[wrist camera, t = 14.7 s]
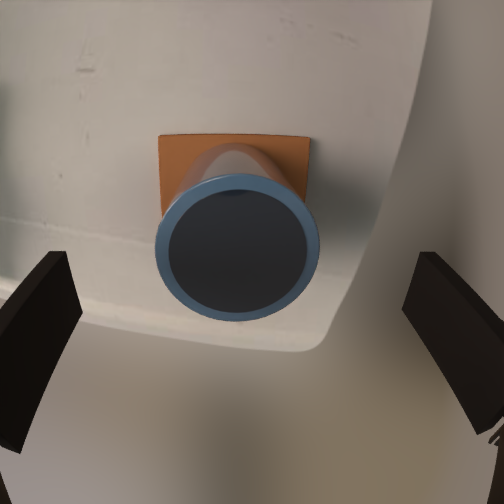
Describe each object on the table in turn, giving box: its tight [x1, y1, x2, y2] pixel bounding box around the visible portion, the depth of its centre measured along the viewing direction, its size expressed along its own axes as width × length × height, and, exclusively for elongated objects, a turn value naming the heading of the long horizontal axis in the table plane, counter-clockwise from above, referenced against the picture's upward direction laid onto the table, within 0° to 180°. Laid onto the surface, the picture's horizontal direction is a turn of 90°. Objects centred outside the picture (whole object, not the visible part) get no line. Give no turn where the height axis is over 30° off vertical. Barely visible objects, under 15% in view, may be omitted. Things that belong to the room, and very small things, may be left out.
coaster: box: [158, 134, 310, 217], centre depth 21 cm, size 10×8×1 cm
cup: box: [155, 143, 320, 322], centre depth 17 cm, size 7×7×9 cm
